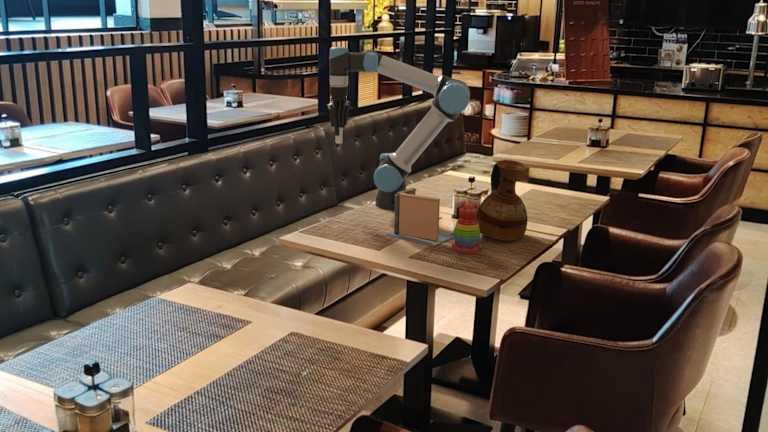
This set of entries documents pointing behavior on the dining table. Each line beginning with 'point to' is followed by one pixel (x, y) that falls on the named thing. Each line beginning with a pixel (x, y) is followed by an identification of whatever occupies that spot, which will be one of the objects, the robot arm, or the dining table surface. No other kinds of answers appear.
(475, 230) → the stacking bear
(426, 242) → the card
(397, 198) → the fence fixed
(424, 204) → the tan square panel
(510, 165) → the ceramic pitcher
